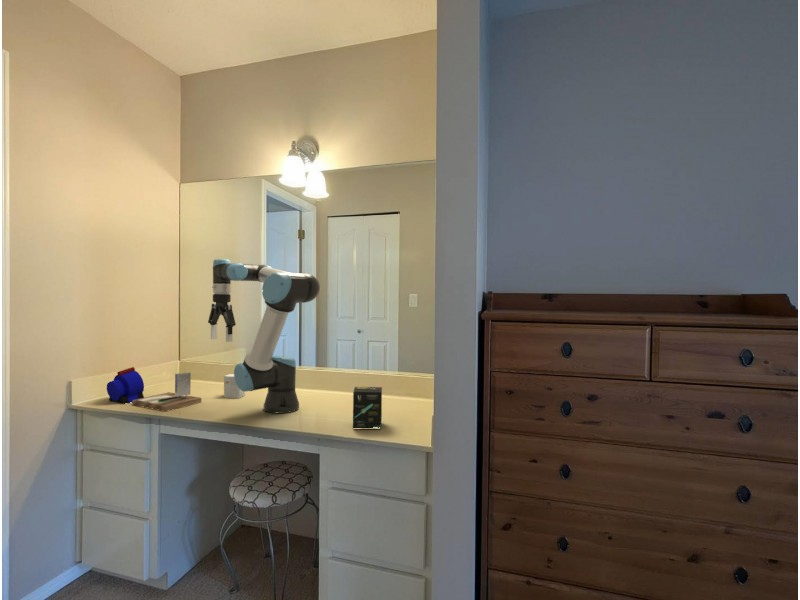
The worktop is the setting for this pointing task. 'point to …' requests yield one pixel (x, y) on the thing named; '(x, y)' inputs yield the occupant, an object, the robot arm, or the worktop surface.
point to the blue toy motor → (126, 386)
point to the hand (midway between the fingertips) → (221, 340)
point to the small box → (231, 387)
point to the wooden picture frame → (166, 401)
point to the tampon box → (367, 407)
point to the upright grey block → (181, 385)
